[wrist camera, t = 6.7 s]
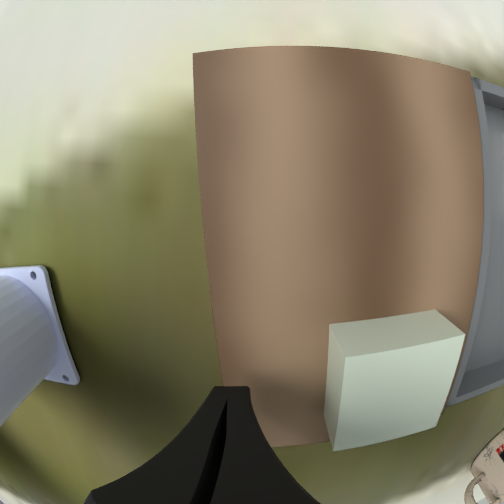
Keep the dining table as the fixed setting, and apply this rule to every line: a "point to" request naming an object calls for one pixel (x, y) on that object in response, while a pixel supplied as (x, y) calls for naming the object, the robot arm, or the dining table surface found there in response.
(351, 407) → the sage tile
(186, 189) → the dining table surface
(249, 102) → the walnut plate
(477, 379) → the box
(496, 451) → the teacup with lid
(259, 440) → the robot arm
